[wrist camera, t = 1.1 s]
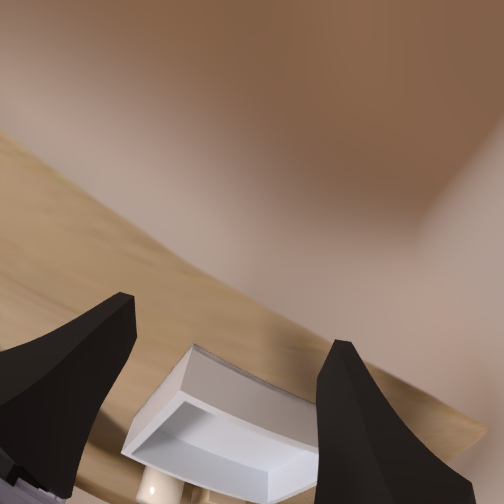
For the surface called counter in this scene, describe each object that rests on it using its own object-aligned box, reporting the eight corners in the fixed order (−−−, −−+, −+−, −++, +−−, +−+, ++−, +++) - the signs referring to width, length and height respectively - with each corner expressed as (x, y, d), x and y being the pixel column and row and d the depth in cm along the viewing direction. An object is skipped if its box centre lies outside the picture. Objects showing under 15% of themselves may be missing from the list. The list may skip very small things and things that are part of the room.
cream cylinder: (178, 472, 33) (168, 515, 26) (143, 457, 32) (130, 501, 26) (195, 461, 31) (186, 509, 25) (157, 445, 30) (143, 493, 24)
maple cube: (226, 488, 34) (223, 518, 30) (195, 478, 33) (189, 508, 29) (247, 478, 33) (244, 510, 28) (213, 467, 32) (208, 500, 27)
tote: (352, 420, 27) (361, 460, 22) (269, 472, 31) (269, 505, 27) (193, 343, 24) (179, 390, 19) (134, 416, 28) (120, 453, 24)
